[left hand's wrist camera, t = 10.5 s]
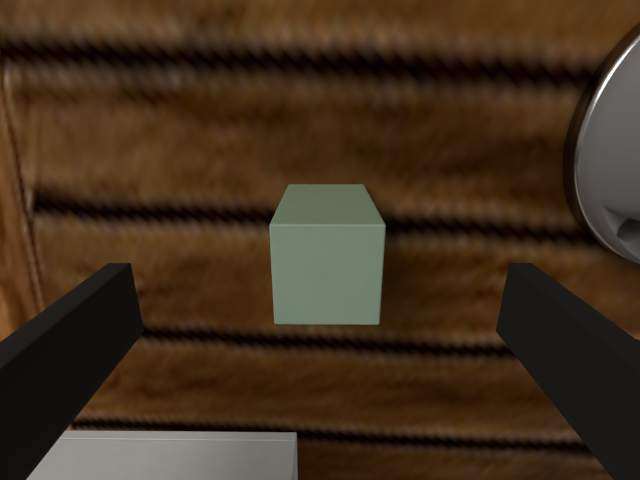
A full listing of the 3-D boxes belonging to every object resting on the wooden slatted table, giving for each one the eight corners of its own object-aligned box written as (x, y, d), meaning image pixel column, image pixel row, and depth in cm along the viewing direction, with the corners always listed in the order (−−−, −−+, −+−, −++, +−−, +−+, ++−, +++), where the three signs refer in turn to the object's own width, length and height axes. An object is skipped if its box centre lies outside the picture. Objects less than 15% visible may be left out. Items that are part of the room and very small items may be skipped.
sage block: (364, 184, 21) (386, 224, 14) (361, 254, 23) (379, 325, 15) (288, 184, 21) (268, 224, 14) (290, 254, 23) (273, 325, 15)
